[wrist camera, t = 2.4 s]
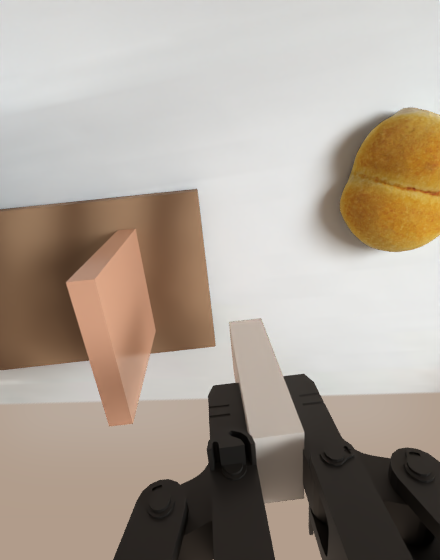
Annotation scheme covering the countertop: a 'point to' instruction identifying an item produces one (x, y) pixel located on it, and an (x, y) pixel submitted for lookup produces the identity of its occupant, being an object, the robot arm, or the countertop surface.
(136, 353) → the tile
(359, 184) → the bread roll
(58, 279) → the board
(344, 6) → the countertop surface
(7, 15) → the countertop surface
